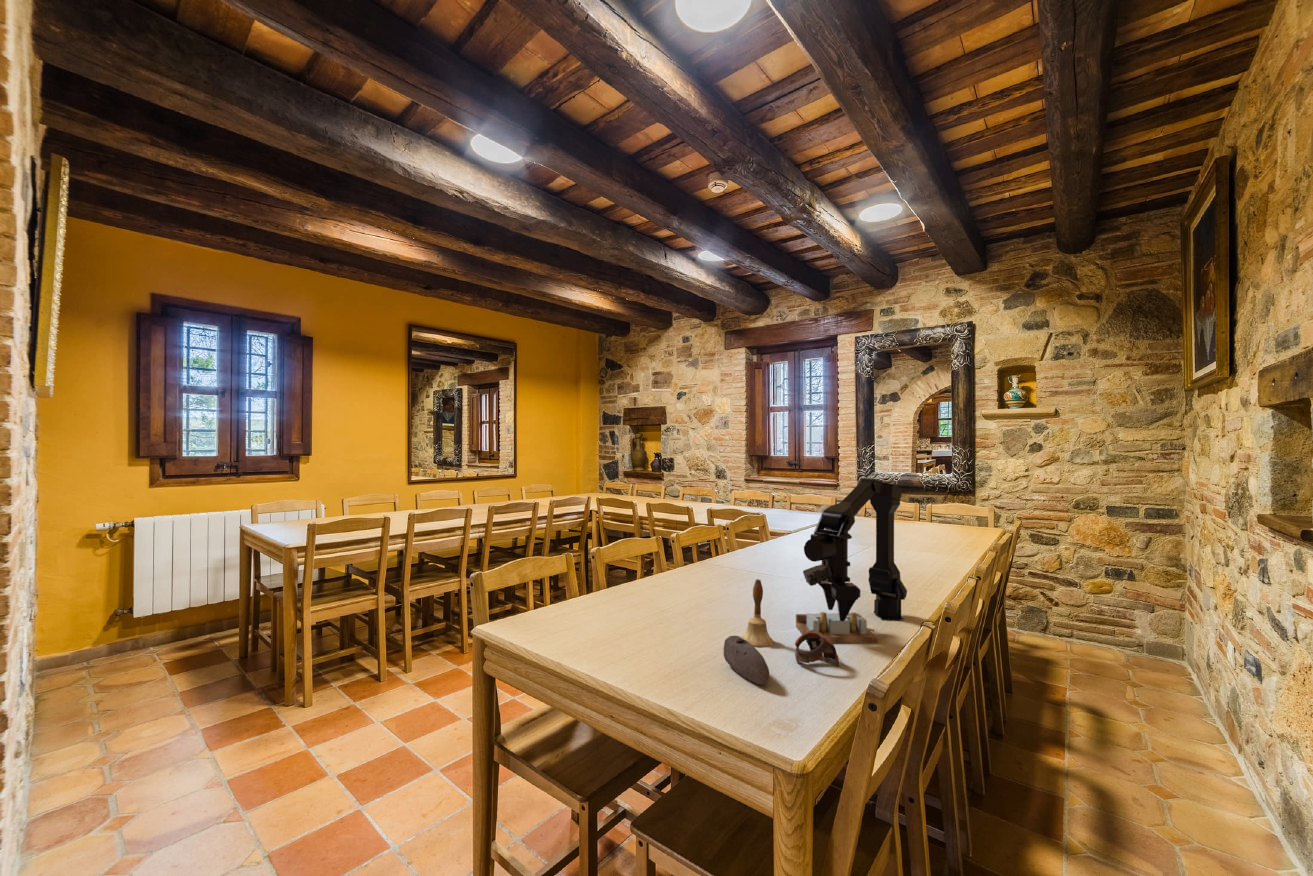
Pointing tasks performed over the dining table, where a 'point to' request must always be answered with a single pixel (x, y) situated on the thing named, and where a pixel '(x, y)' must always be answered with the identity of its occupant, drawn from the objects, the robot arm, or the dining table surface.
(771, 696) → the dining table surface
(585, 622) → the dining table surface
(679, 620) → the dining table surface
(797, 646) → the brown curved piece
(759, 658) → the perforated stone tool
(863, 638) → the board
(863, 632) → the grey notched panel
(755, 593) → the hand bell
